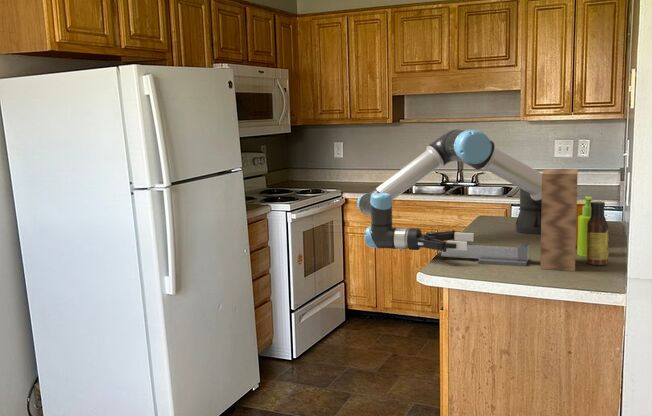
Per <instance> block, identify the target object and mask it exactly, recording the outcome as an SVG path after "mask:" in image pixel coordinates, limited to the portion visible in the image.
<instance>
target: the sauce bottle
mask: <svg viewBox="0 0 652 416" xmlns="http://www.w3.org/2000/svg"><path fill="white" fill-rule="evenodd" d="M605 206H606V203H605V201H599V200H598V201H597V200H595V201H594V200H593V202H591V218H590V220H589V221H588V224H587V257H586V259H587V263H588V264H589V265H591V266H606V265H607V264H608V263H609V241H610V240H609V233H610V231H609V225H608V222H607V220H606V216H605Z"/></svg>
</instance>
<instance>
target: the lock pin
mask: <svg viewBox="0 0 652 416" xmlns="http://www.w3.org/2000/svg"><path fill="white" fill-rule="evenodd" d="M529 252H530V244H529V243H523V242H522V243H518V246H517V247H516V246H502V245H501V246H500V245H499V246H498V245H496V246H495V245H481V244H479V245H477V244H467V250H449V249H447V248H446V252H443V251H440V254H441V255H440V256H441V257H446V258H461V259H463V258H466V259H467V258H468V259H479V258H480V259H498V260H516V261H526V262H527V263H528V262H529V258H530V257H529V256H530V253H529Z"/></svg>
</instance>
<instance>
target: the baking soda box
mask: <svg viewBox="0 0 652 416" xmlns="http://www.w3.org/2000/svg"><path fill="white" fill-rule="evenodd" d="M591 202H594V200H593V199H592V200H591ZM584 205H585V199H577V214H576V248H577V244H578V216H581V215H582V208H583V206H584Z"/></svg>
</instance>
